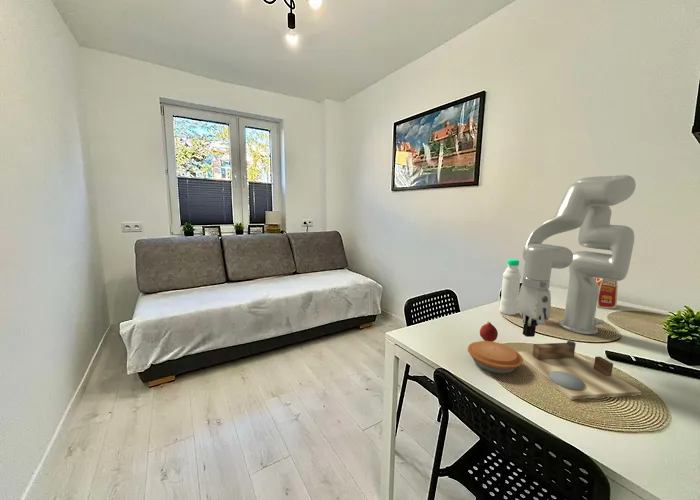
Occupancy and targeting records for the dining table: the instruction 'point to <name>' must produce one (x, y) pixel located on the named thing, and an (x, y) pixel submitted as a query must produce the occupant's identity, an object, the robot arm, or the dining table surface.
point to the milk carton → (607, 293)
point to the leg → (554, 350)
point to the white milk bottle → (510, 288)
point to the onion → (488, 332)
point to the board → (580, 377)
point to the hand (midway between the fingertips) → (528, 335)
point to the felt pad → (566, 380)
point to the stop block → (603, 366)
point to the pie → (494, 356)
